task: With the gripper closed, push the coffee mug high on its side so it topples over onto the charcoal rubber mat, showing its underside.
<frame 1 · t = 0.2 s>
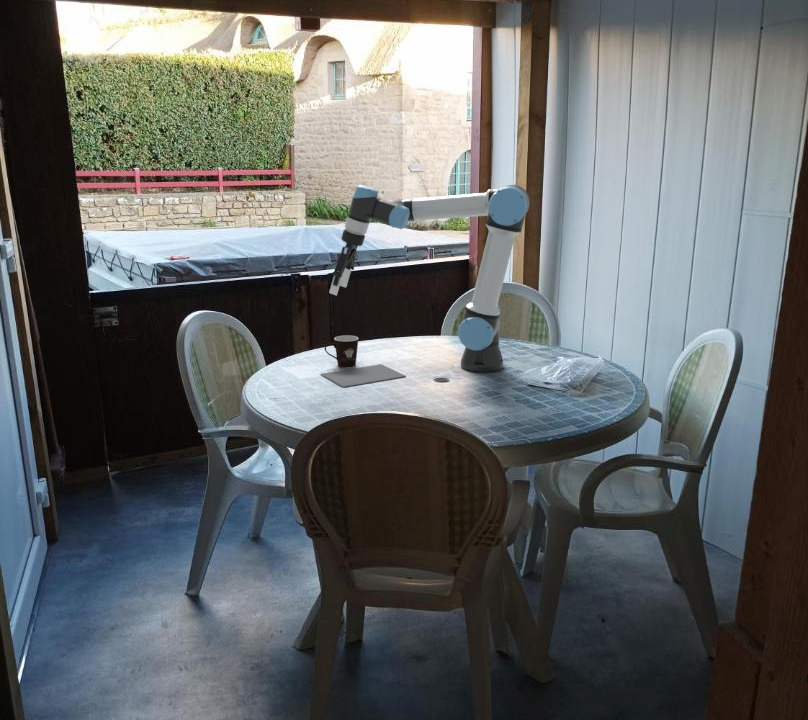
hand: (337, 290, 262), 28 cm above the table, tool tilted 20°, fingers open, 13 cm apart
coffee mug: (342, 365, 272), on the table
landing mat: (363, 375, 260), on the table
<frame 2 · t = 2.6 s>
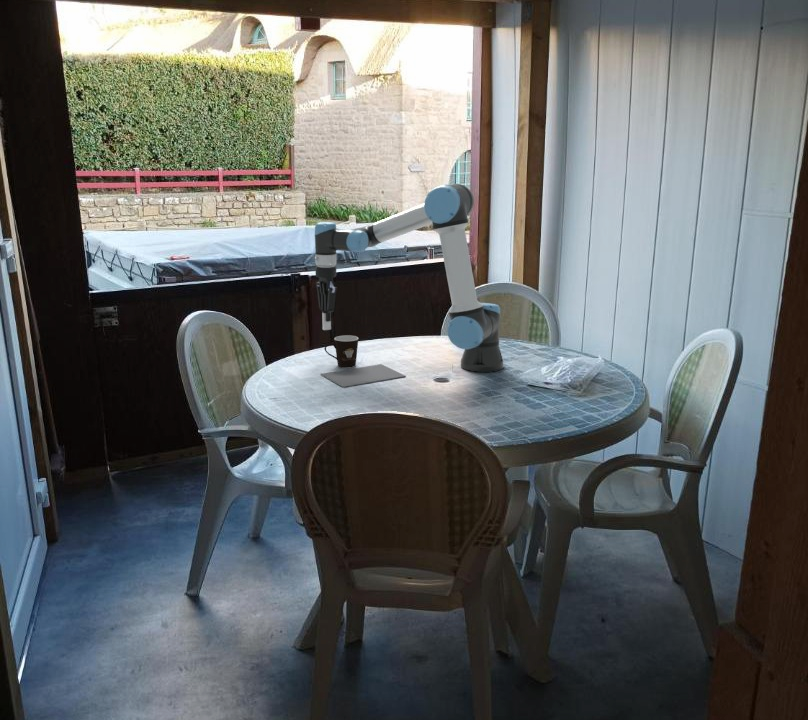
hand: (326, 329, 279), 11 cm above the table, tool pointing down, fingers closed
nothing on the table moved.
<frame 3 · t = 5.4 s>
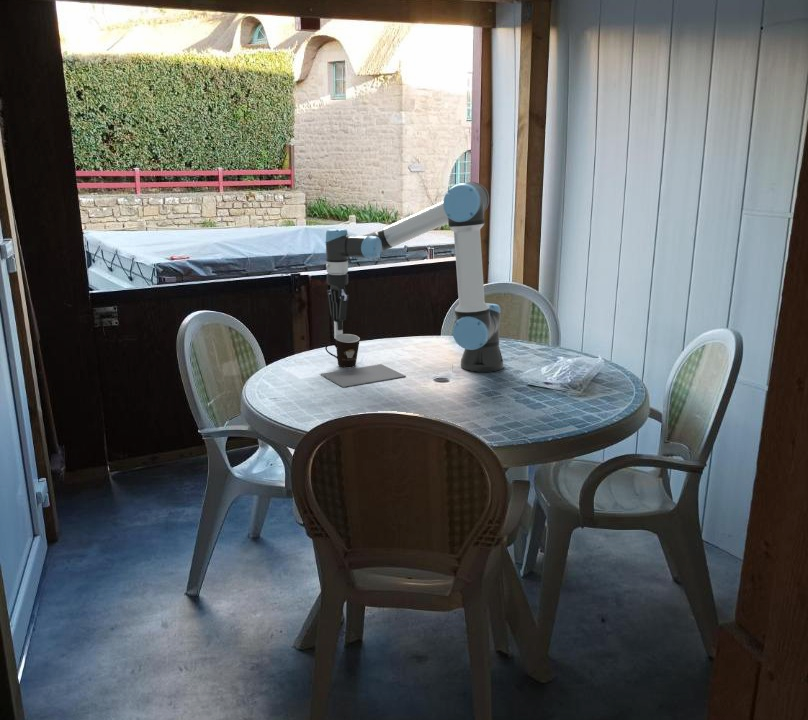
hand: (338, 338, 272), 9 cm above the table, tool pointing down, fingers closed
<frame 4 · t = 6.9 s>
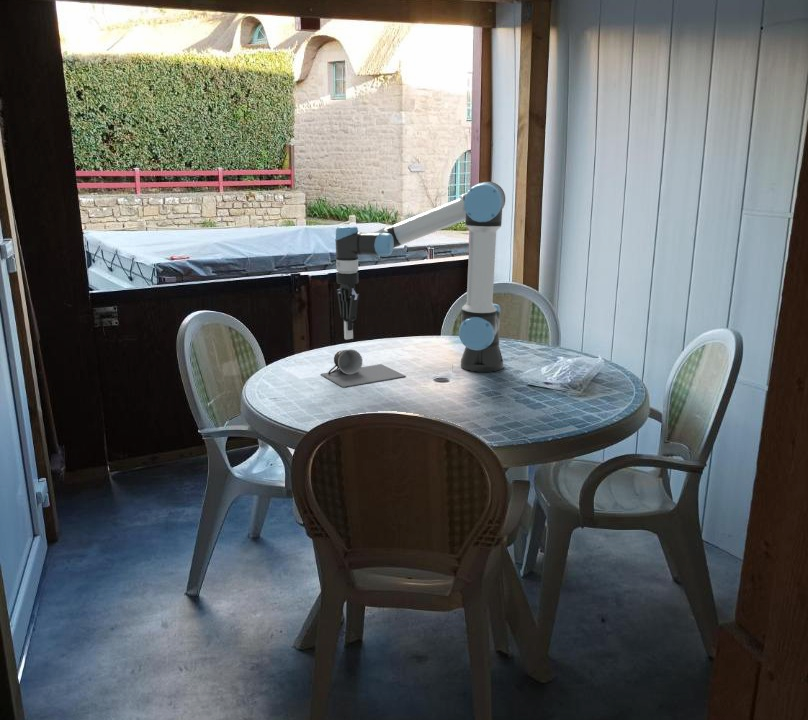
hand: (348, 338, 265), 11 cm above the table, tool pointing down, fingers closed
coffee mug: (338, 359, 268), point 3 cm above the table, touching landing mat
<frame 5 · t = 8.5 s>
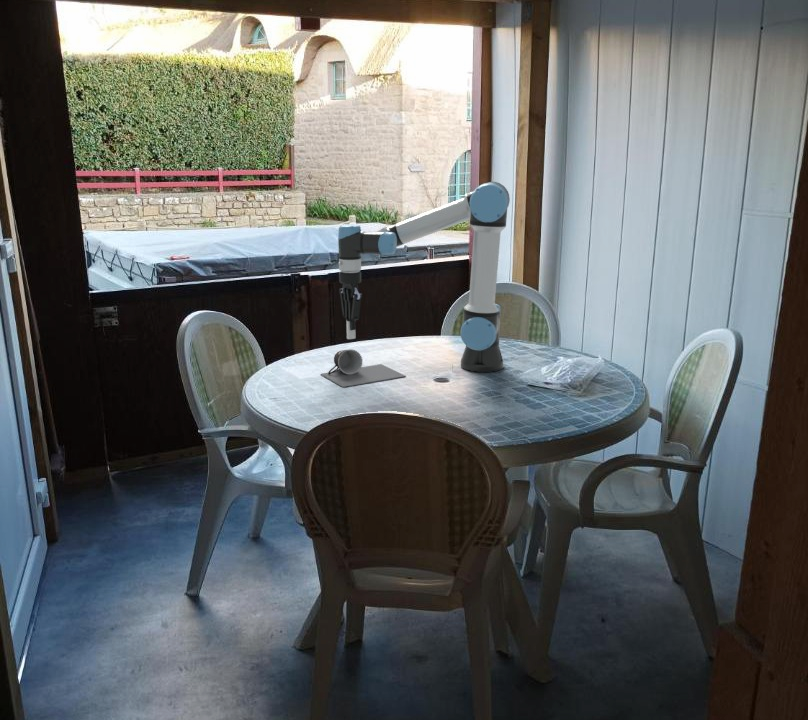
hand: (351, 338, 264), 11 cm above the table, tool pointing down, fingers closed
nothing on the table moved.
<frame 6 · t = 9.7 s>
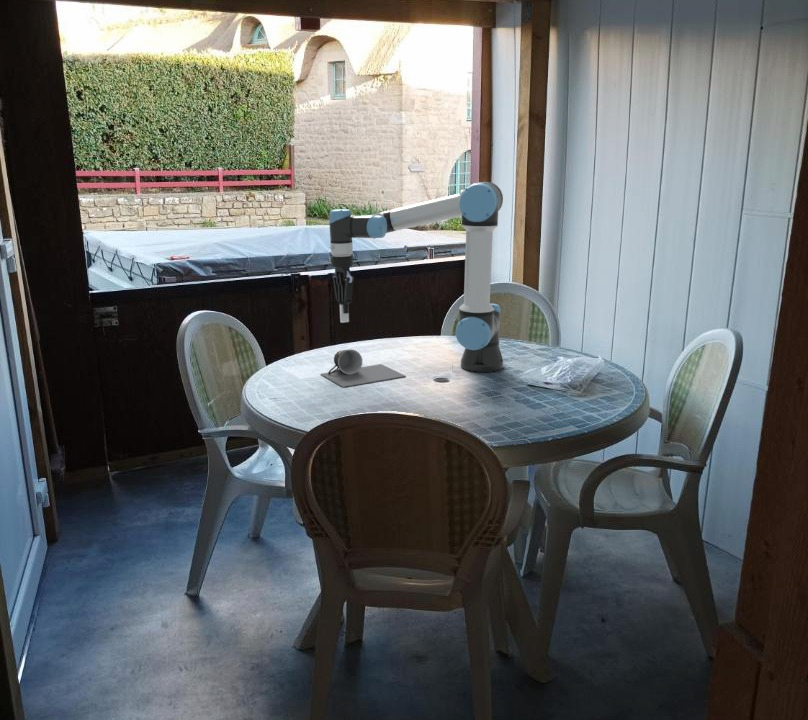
hand: (344, 322, 267), 16 cm above the table, tool pointing down, fingers closed
nothing on the table moved.
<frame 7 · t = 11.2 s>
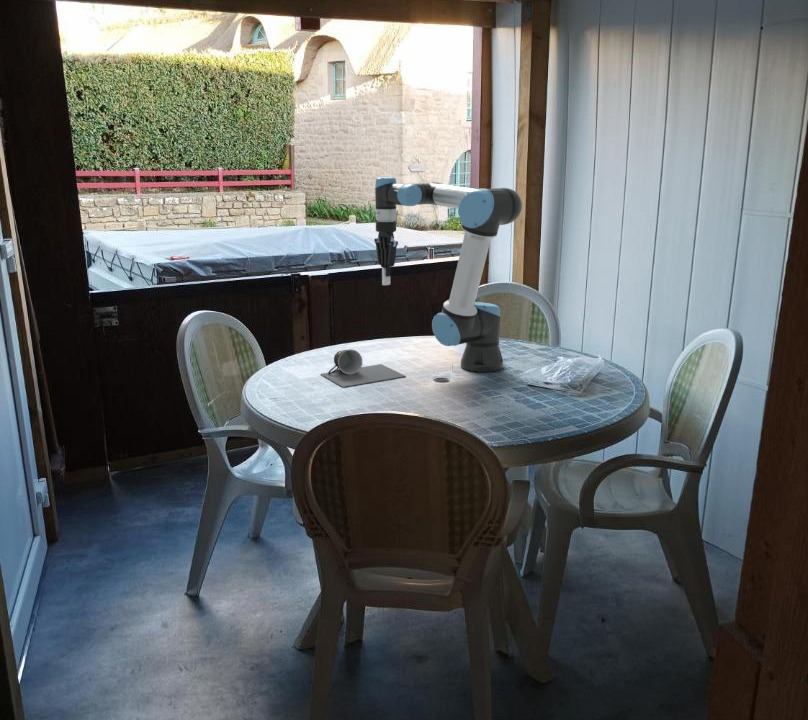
hand: (386, 284, 282), 26 cm above the table, tool pointing down, fingers closed
nothing on the table moved.
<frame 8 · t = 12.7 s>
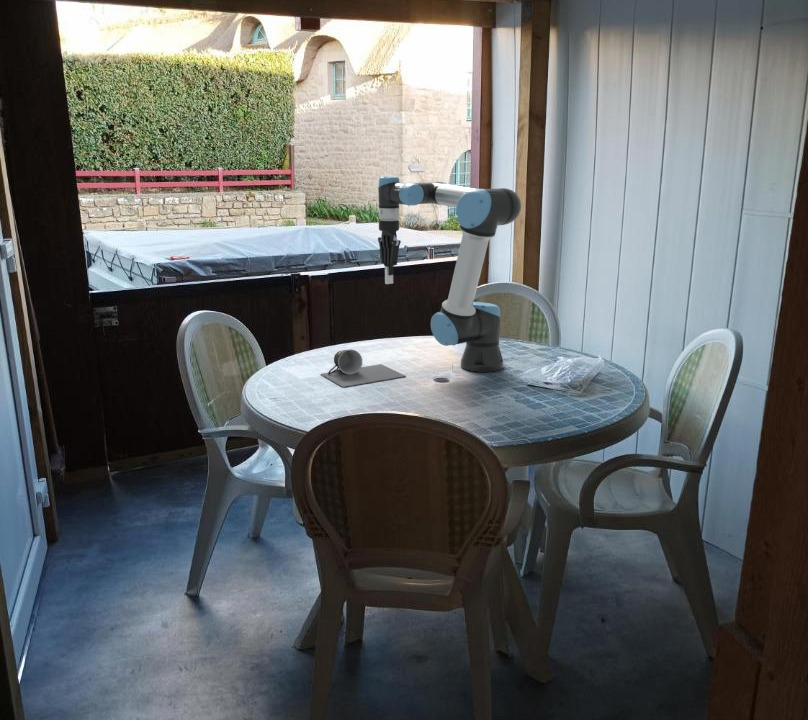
hand: (389, 283, 284), 26 cm above the table, tool pointing down, fingers closed
nothing on the table moved.
at the end: coffee mug tilted 80°; coffee mug touching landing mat, table; coffee mug moved 5.0 cm from its start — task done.
